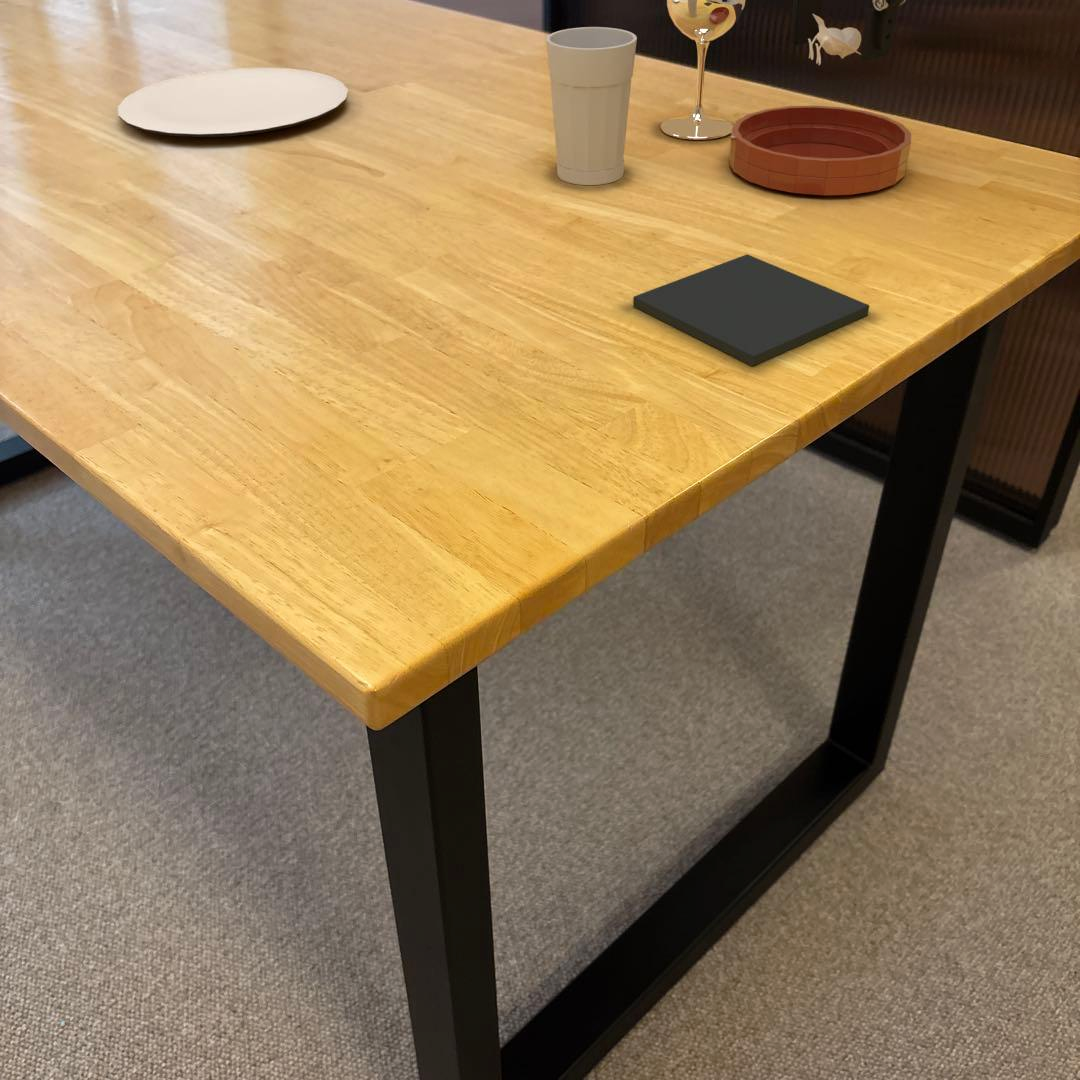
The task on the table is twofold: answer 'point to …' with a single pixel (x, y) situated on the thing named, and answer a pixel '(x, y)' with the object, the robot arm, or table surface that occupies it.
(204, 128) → the plate
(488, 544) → the table surface
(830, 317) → the coaster
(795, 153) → the bowl
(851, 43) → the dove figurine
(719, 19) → the wineglass
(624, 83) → the cup
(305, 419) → the table surface
